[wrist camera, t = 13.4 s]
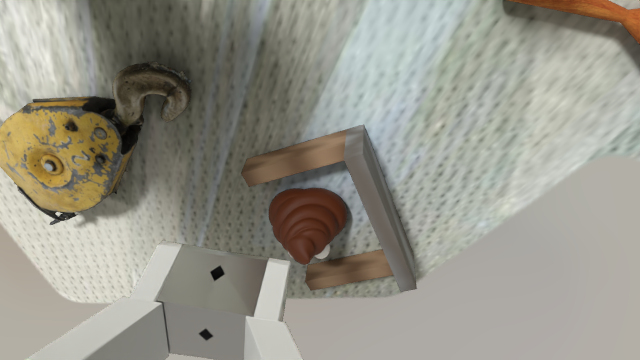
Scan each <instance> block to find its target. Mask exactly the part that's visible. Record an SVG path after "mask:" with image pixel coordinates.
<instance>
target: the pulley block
mask: <svg viewBox="0 0 640 360" xmlns="http://www.w3.org/2000/svg"><path fill="white" fill-rule="evenodd" d="M184 74H185V71H184V70H183V71H181V72H178V71H176V70H174V69H171V68H169V67H166V66H165V65H161V64H158V63H157V62H148V63H143V64H136V65H132V66H129V67H127V68H125V69H124V70H122V71H120V72H119V73H118V75H117V76H116V77H115V79H114V82H113V86H112V88H113V95H114V98H115V99H108V98H101V97H96V96H94V97H71V98H50V99H33V102H34V103H29V104H27V105H26V106H24V107H23V108H21V109H20V110H19V111H18V112H16V113H15V114H13V115H12V116H10V117H9V118H8V119H7V120H6V121H5V122H4V123H3V124H2V126H1V128H0V167H1V168H2V169H3V170H4V171H5V172H6V173H7V174H8V175H9V177H10V178H11V179H12V180H13V181H14V183H15V184H16V185H17V188H18V191H19V192H20V193H21V194H23V195H24V196H25V197H26V198H27V199H28V200H29V202H30V203H31V204H32V205H33V206H34V207H36V208H37V209H39V210H40V211H42V212H44V213H45V214H47V215H49V216H50V217H52V218H54V219H55V220H54V221H52V222H51V223H50V225H53V224H55V223H58V222H60V221H64V220H68V219H70V218H73V217H75V216H76V214H75V213H74V212H79V211H84V210H87V209H90V208H92V207H94V206H95V205H97V204H98V203H99V202H101V201H102V200H103V199H105V198H106V197H107V196H108V195H110V194H111V193H113V192H115V193H116V194H117V192H116V191H117V190H118V187H119V183H120V180H121V178H122V175H123V173H124V171H126V165H127V163H128V161H129V159H130V156H131V154H132V152H133V150H134V148H135V145H136V143H137V140H138V133H139V132H140V130H141V128H140V127H141V126H142V124H143V122H144V118H143V115H142V113H143V108H144V105H145V99H146V95H148V94H160V95H164V96H166V97H167V100H166V101H165V102H164V104H163V107H162V110H161V118H162V119H163V120H164V121H165V122H169V121H172V120H173V119H174V118H175V117H177V116H178V115H179V114H180V113H181V112H182V111H184V110H185V109H186V108H187V106H188V104H189V102H190V98H191V89H190V86H189V84H190V83H191V81H192V80H188V79H187V78H186V77H185V76H184ZM56 212H60V213H63V214H61V215H60V216H59V217H58V216H57V215H56V214H55V213H56ZM77 215H78V214H77ZM65 218H66V219H65Z"/></svg>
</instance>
